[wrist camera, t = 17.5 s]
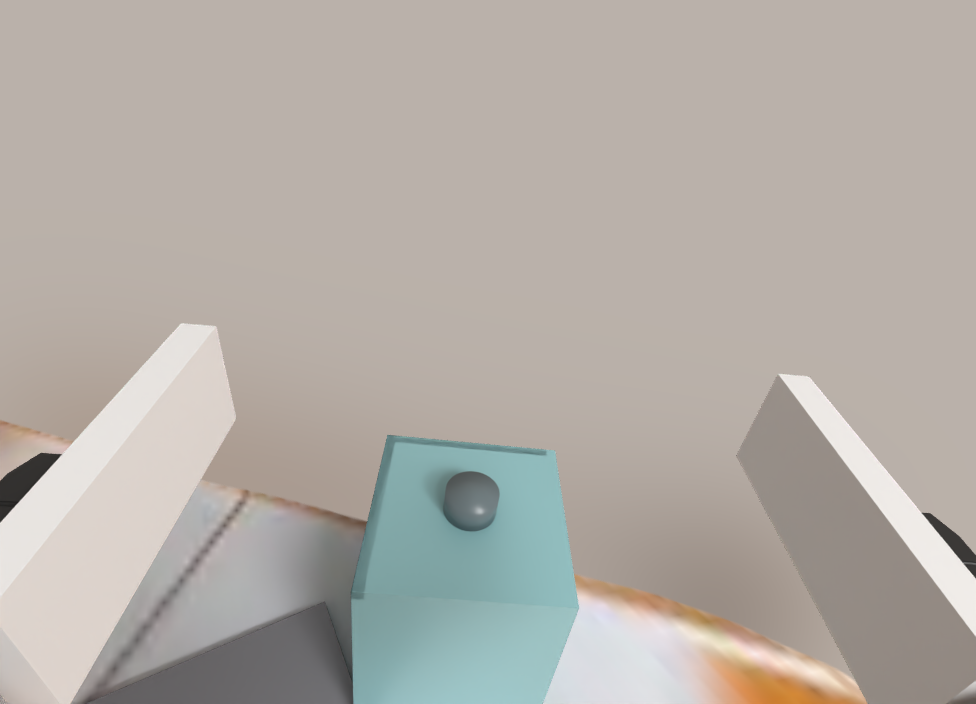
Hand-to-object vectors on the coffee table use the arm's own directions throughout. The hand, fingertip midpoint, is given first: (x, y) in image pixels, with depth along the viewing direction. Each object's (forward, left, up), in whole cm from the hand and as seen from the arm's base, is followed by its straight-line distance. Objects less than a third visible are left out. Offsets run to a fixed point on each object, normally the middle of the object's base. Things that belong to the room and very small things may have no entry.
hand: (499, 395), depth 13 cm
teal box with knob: (-8, +5, -29) cm, 31 cm away
